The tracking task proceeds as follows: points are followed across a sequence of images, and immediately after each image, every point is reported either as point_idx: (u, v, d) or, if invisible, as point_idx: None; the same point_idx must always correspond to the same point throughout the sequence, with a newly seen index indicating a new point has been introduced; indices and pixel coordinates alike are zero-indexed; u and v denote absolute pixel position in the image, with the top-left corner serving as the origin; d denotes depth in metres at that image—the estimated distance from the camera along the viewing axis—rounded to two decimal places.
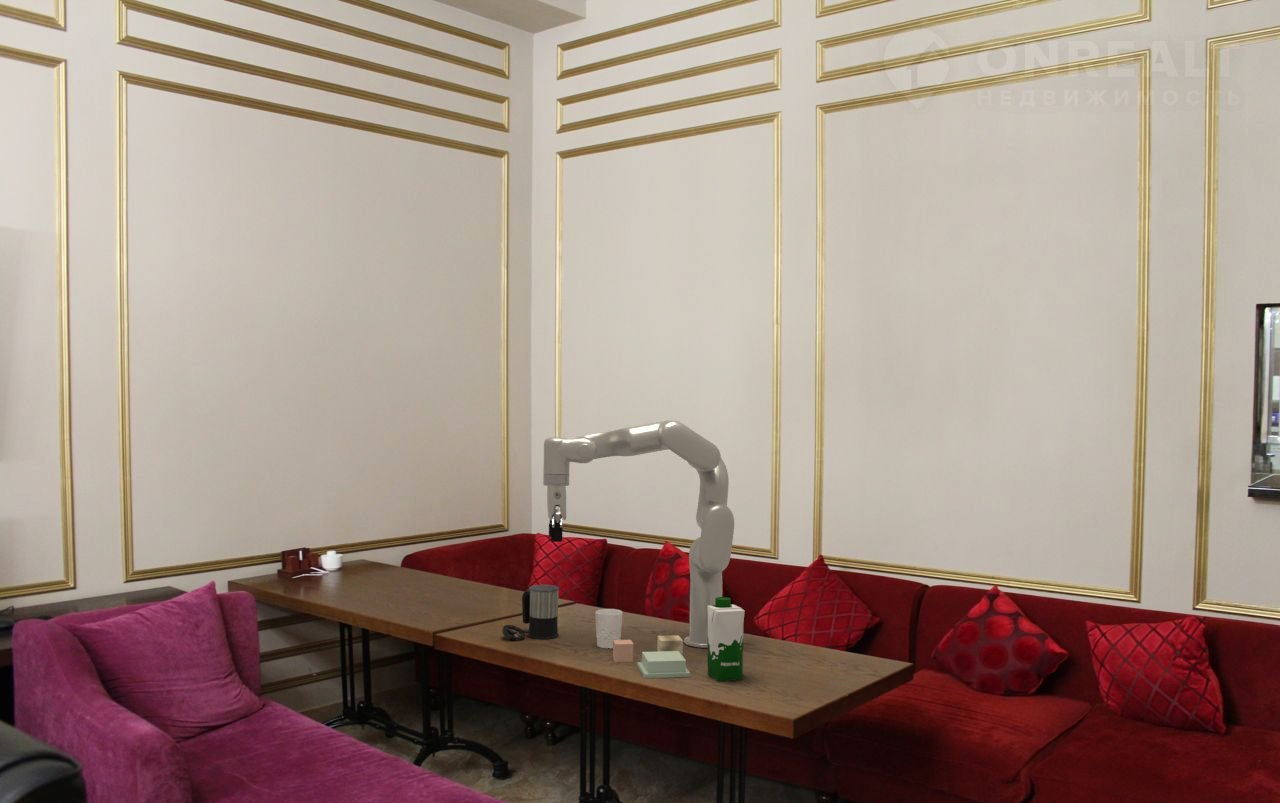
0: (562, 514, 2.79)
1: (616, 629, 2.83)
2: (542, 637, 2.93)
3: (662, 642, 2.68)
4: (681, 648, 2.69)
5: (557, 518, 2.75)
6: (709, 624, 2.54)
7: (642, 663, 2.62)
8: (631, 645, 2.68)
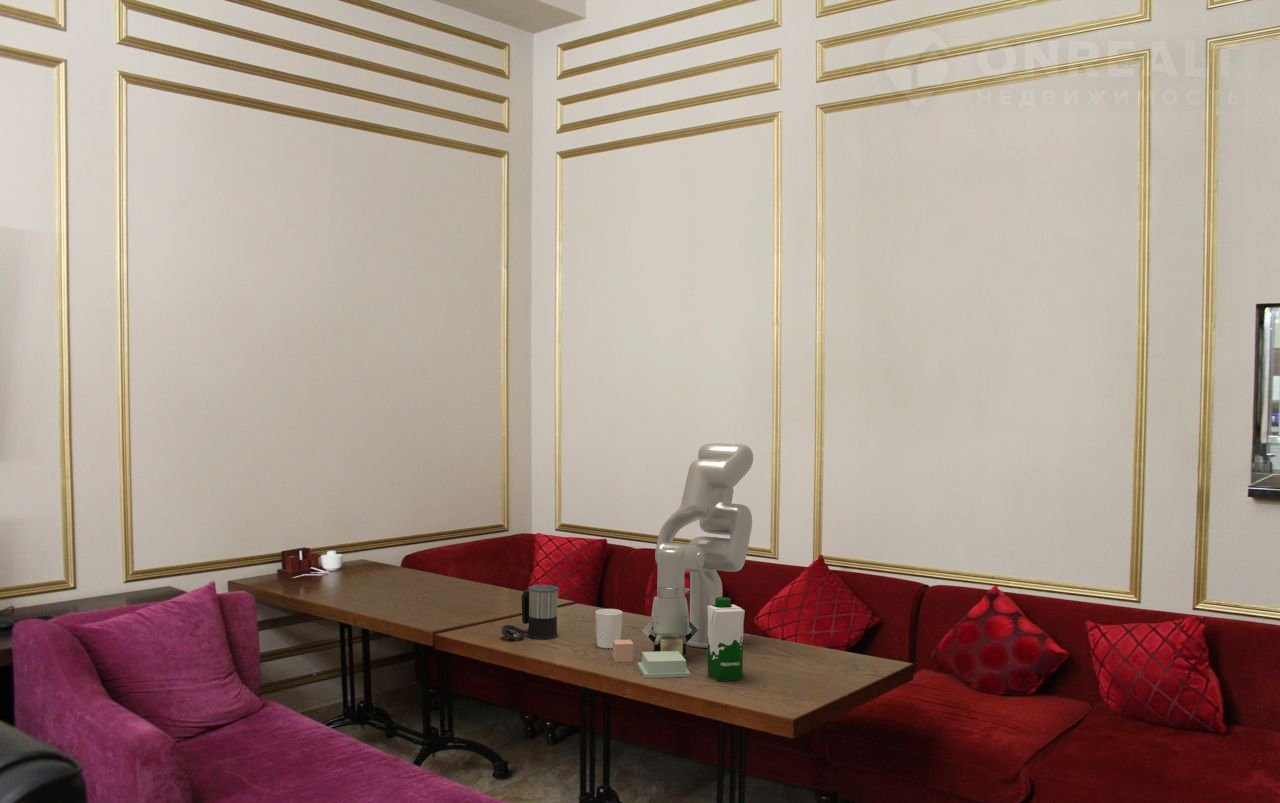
0: None
1: (616, 629, 2.83)
2: (541, 637, 2.92)
3: (662, 642, 2.68)
4: (681, 648, 2.69)
5: None
6: (709, 624, 2.54)
7: (642, 663, 2.62)
8: (631, 645, 2.68)
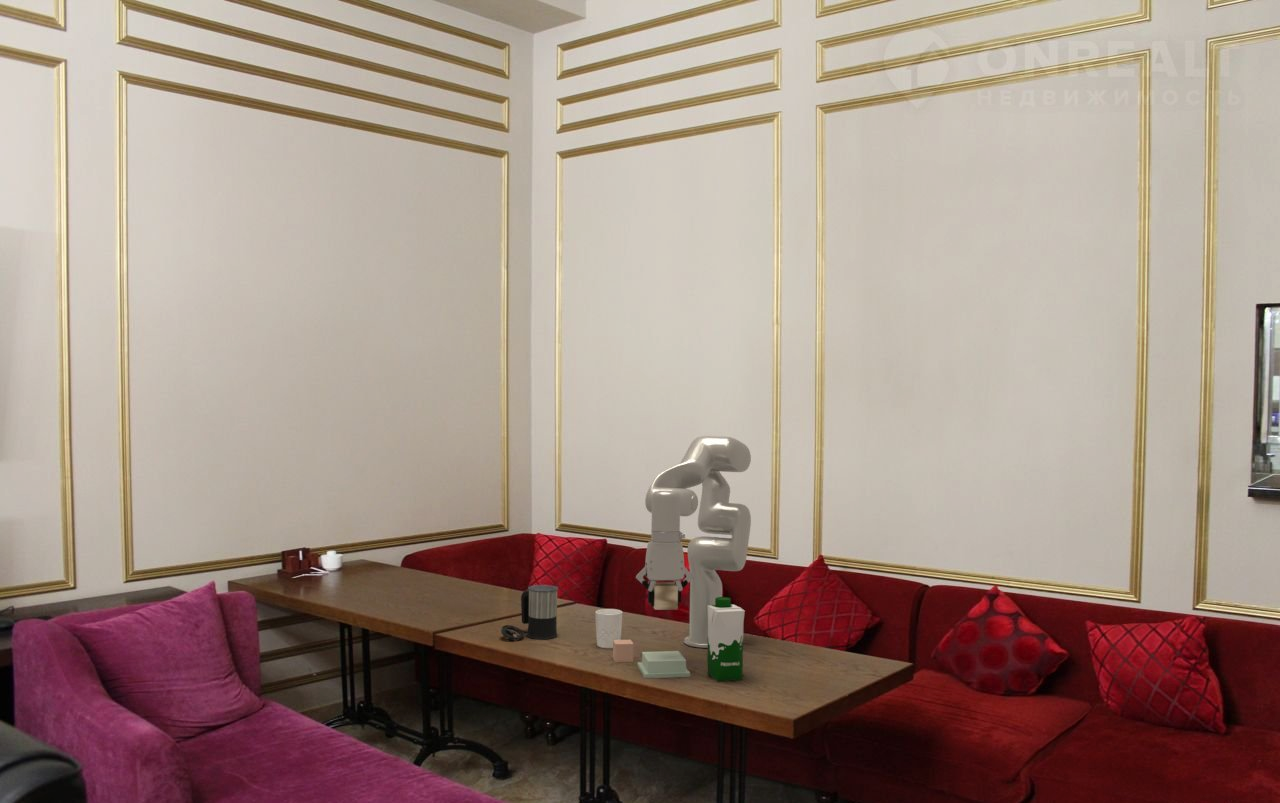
0: None
1: (616, 629, 2.83)
2: (541, 637, 2.92)
3: (656, 588, 2.56)
4: (676, 594, 2.57)
5: None
6: (709, 624, 2.54)
7: (642, 663, 2.62)
8: (631, 645, 2.68)
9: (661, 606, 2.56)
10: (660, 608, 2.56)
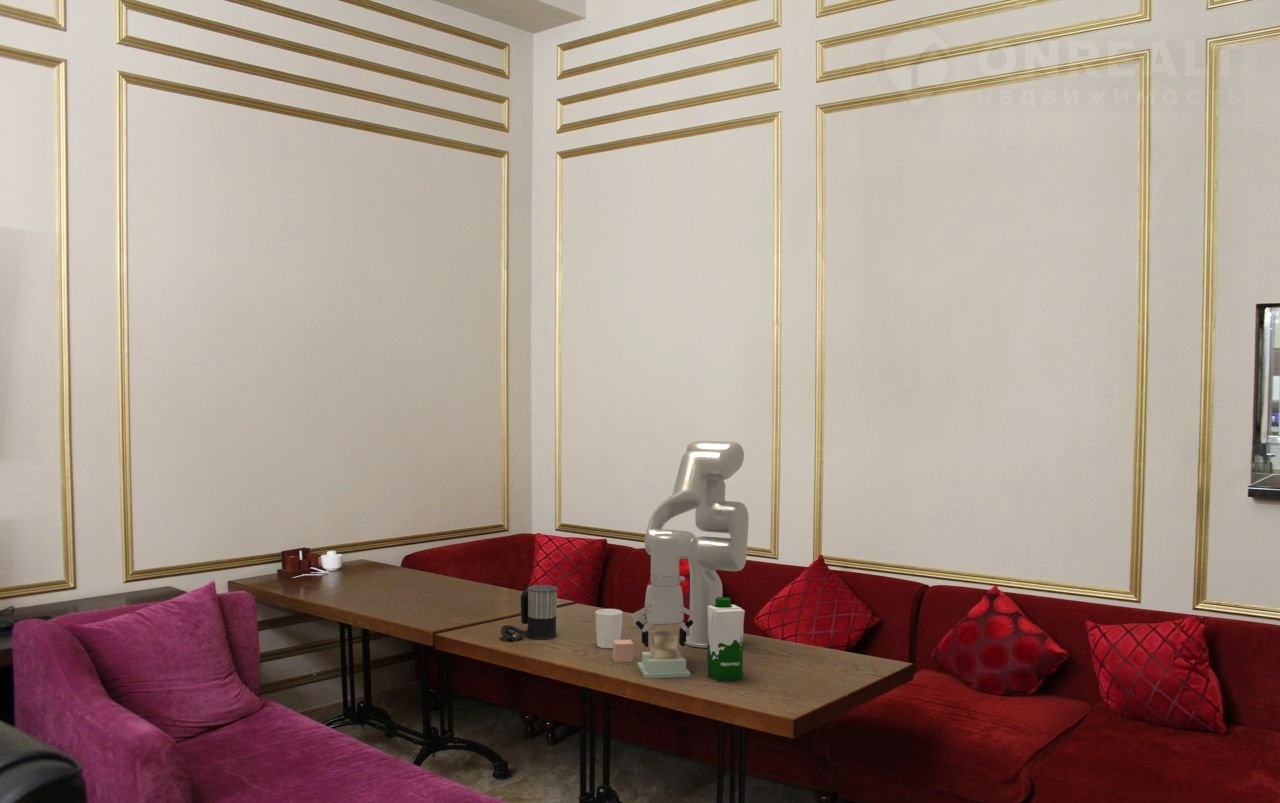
0: None
1: (616, 629, 2.83)
2: (540, 637, 2.92)
3: (656, 637, 2.56)
4: (675, 644, 2.56)
5: None
6: (709, 624, 2.54)
7: (642, 663, 2.62)
8: (631, 645, 2.68)
9: (660, 655, 2.56)
10: (660, 658, 2.56)
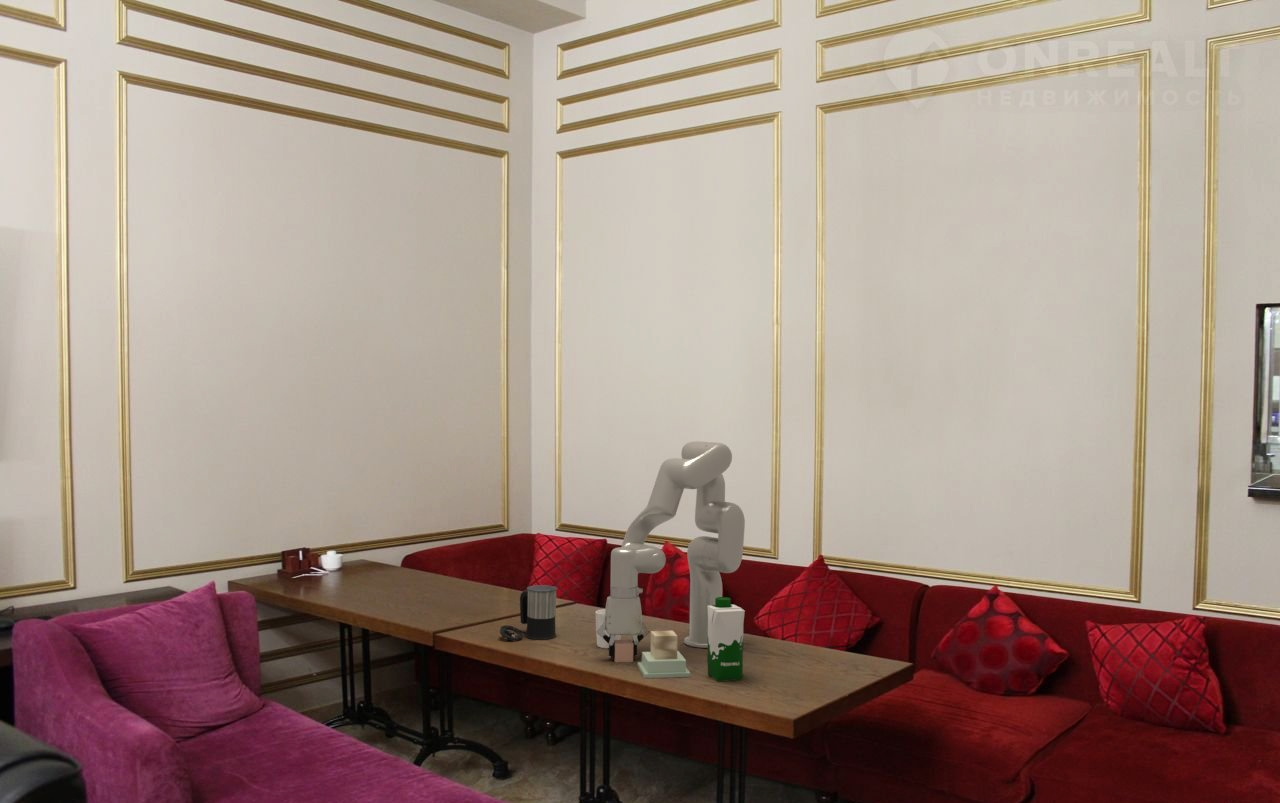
0: None
1: None
2: (539, 637, 2.92)
3: (656, 637, 2.56)
4: (675, 644, 2.56)
5: None
6: (709, 624, 2.54)
7: (642, 663, 2.62)
8: (631, 645, 2.68)
9: (660, 655, 2.56)
10: (660, 658, 2.56)
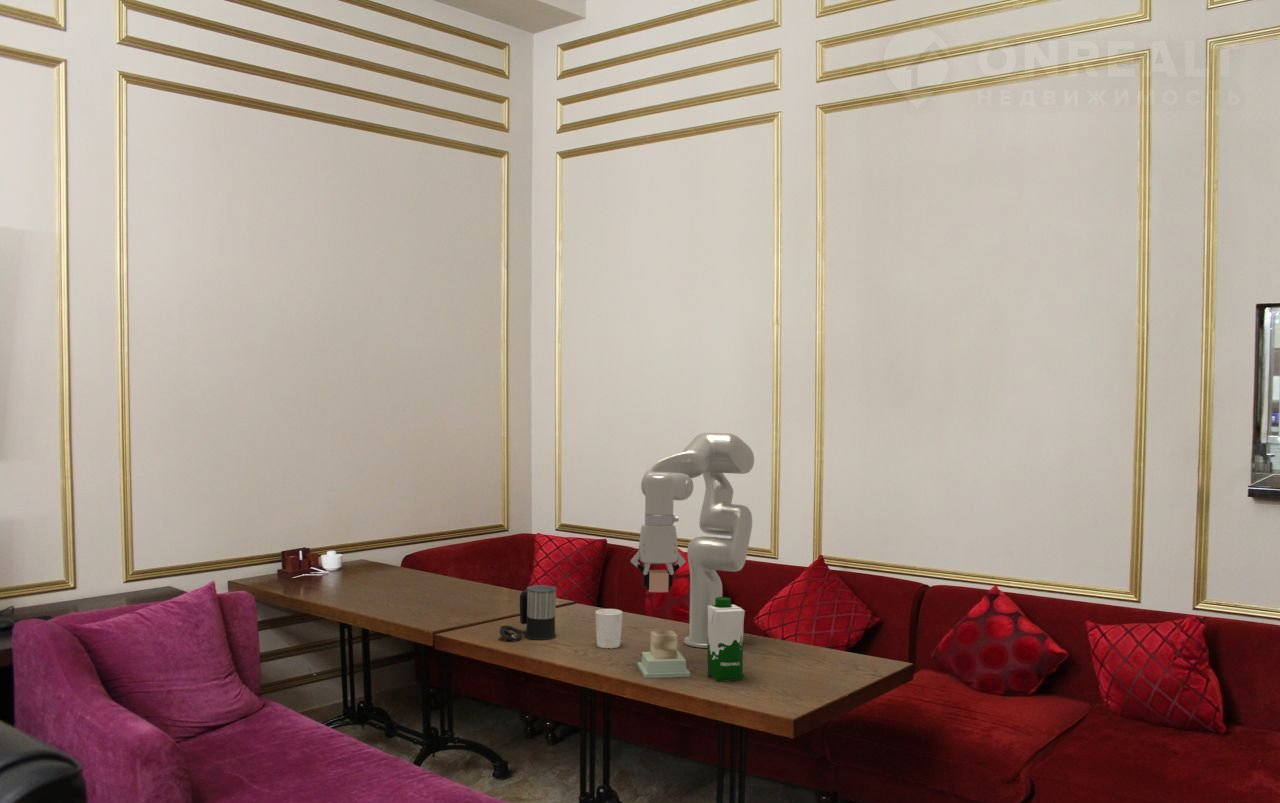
0: None
1: (616, 629, 2.83)
2: (539, 638, 2.92)
3: (656, 637, 2.56)
4: (675, 644, 2.56)
5: None
6: (709, 624, 2.54)
7: (642, 663, 2.62)
8: (666, 574, 2.58)
9: (660, 655, 2.56)
10: (660, 658, 2.56)
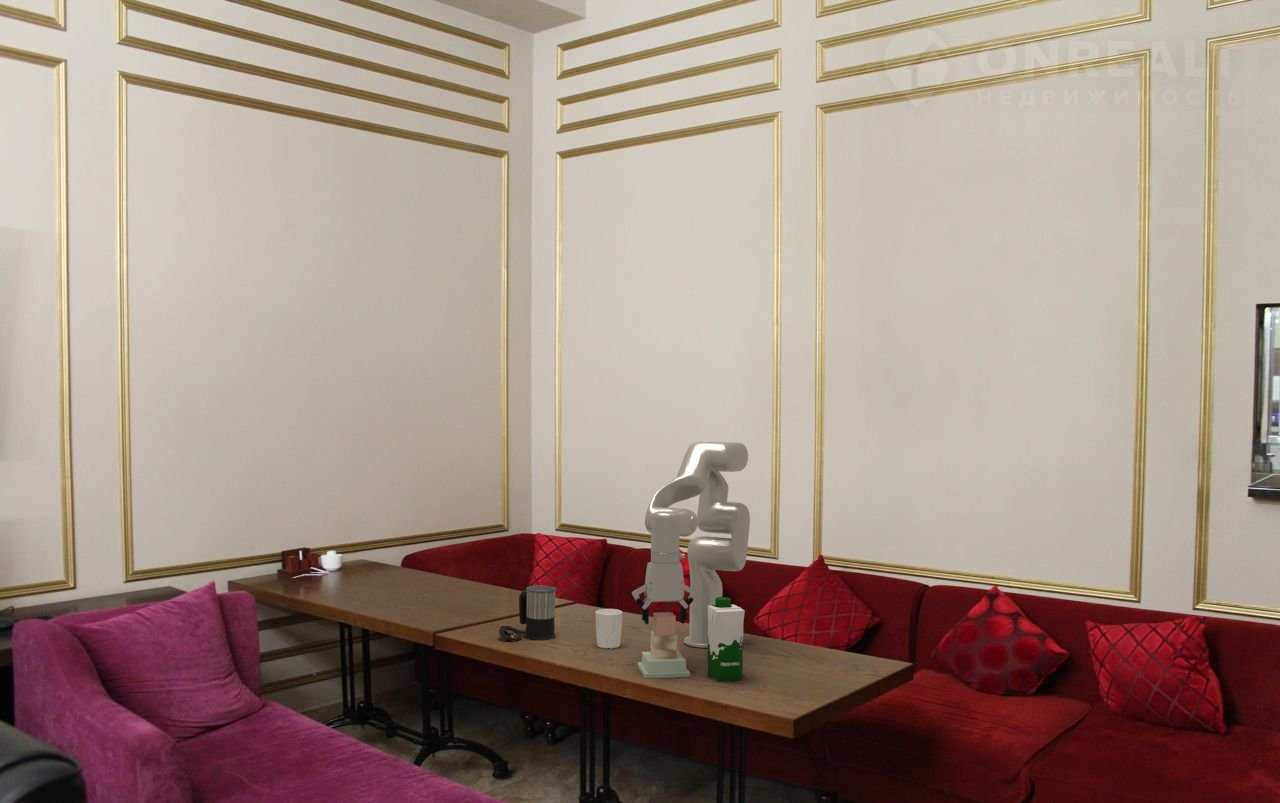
0: None
1: (616, 629, 2.83)
2: (539, 638, 2.92)
3: (656, 637, 2.56)
4: (675, 644, 2.56)
5: None
6: (709, 624, 2.54)
7: (642, 663, 2.62)
8: (673, 617, 2.57)
9: (660, 655, 2.56)
10: (660, 658, 2.56)
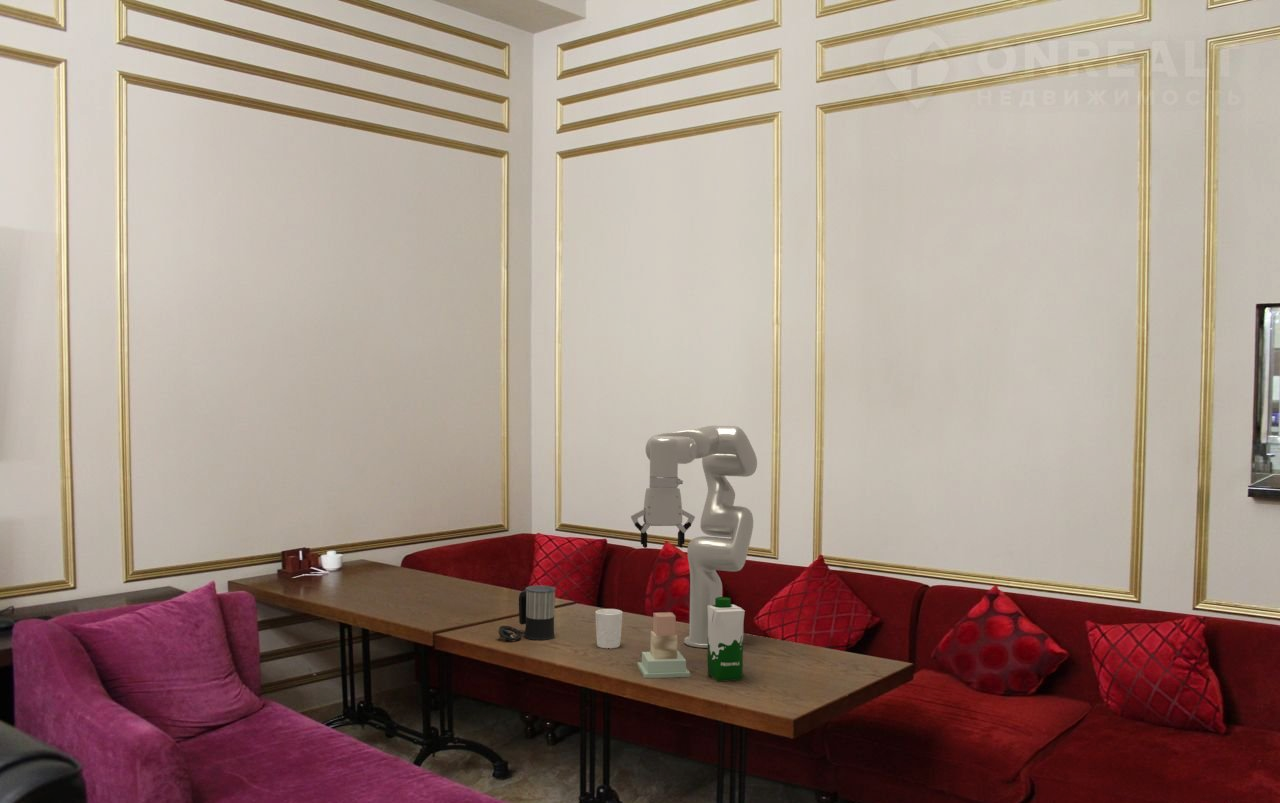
0: None
1: (616, 629, 2.83)
2: (538, 638, 2.91)
3: (656, 637, 2.56)
4: (675, 644, 2.56)
5: None
6: (709, 624, 2.54)
7: (642, 663, 2.62)
8: (673, 617, 2.57)
9: (660, 655, 2.56)
10: (660, 658, 2.56)
